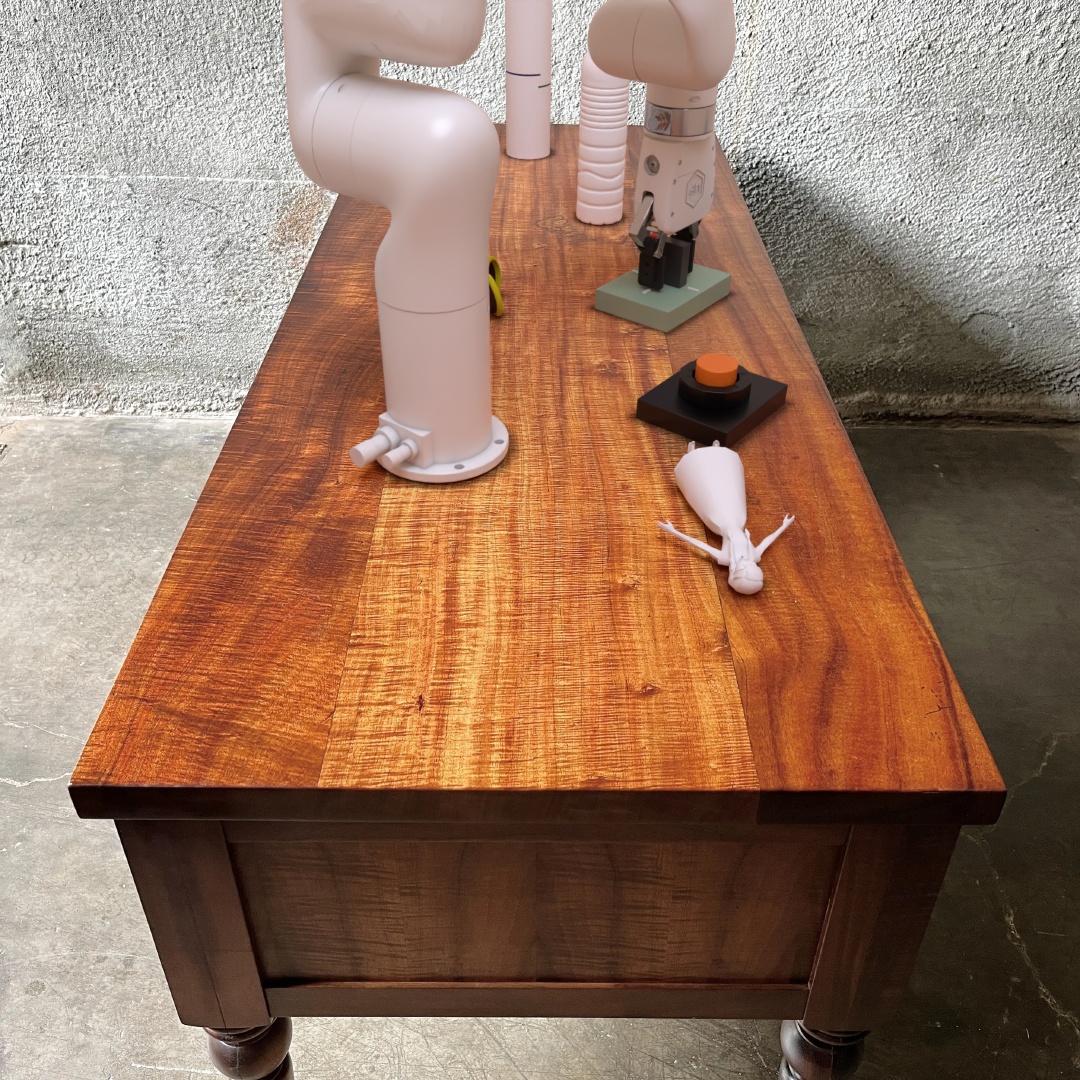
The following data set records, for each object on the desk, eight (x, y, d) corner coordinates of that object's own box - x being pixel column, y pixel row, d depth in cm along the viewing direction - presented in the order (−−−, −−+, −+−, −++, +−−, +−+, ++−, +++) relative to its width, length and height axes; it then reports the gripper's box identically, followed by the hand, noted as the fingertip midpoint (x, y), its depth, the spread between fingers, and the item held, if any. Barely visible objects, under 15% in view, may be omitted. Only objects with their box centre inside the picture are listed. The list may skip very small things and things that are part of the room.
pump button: (722, 392, 98) (724, 376, 97) (686, 380, 100) (688, 363, 99) (743, 377, 101) (746, 361, 100) (708, 365, 103) (710, 349, 102)
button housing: (724, 453, 97) (729, 415, 94) (635, 418, 102) (638, 382, 99) (785, 404, 104) (791, 368, 102) (699, 373, 109) (703, 339, 107)
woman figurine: (770, 427, 91) (832, 564, 78) (762, 468, 94) (820, 606, 81) (640, 432, 90) (679, 571, 77) (636, 473, 93) (673, 614, 80)
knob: (686, 284, 121) (691, 240, 118) (679, 288, 120) (683, 244, 117) (651, 273, 124) (654, 230, 121) (643, 277, 123) (646, 234, 120)
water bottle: (620, 227, 143) (632, 28, 128) (573, 224, 144) (579, 26, 129) (625, 205, 150) (636, 15, 135) (580, 203, 151) (587, 13, 136)
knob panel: (666, 333, 117) (668, 311, 115) (594, 309, 122) (595, 287, 120) (729, 293, 126) (732, 272, 124) (660, 272, 131) (661, 252, 129)
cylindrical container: (501, 148, 172) (499, -22, 157) (542, 144, 173) (544, -24, 158) (513, 160, 166) (512, -14, 151) (555, 157, 168) (558, -16, 153)
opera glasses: (462, 295, 126) (452, 256, 123) (504, 286, 126) (495, 247, 123) (461, 330, 119) (451, 290, 116) (506, 321, 118) (497, 280, 115)
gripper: (664, 142, 104) (651, 311, 115) (750, 108, 115) (730, 264, 125) (604, 128, 108) (596, 293, 118) (692, 96, 118) (677, 249, 129)
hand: (665, 277), depth 122 cm, fingers open, 5 cm apart
